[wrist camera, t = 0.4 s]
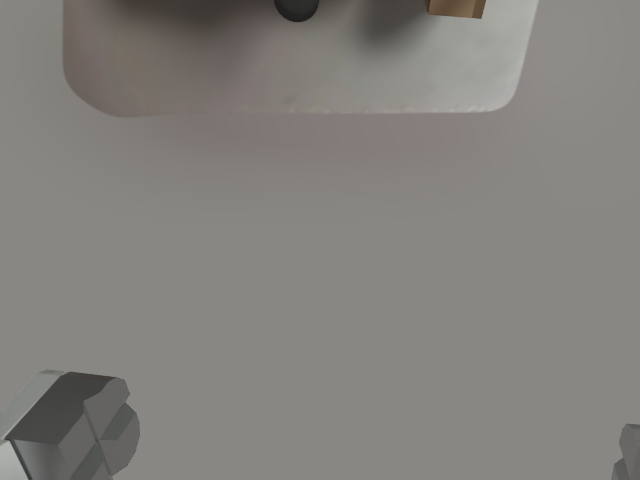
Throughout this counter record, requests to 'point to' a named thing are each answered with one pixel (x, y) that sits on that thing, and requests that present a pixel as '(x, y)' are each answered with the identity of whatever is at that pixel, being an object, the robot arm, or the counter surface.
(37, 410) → the robot arm
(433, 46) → the counter surface
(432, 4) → the socket
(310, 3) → the tan and black piece
